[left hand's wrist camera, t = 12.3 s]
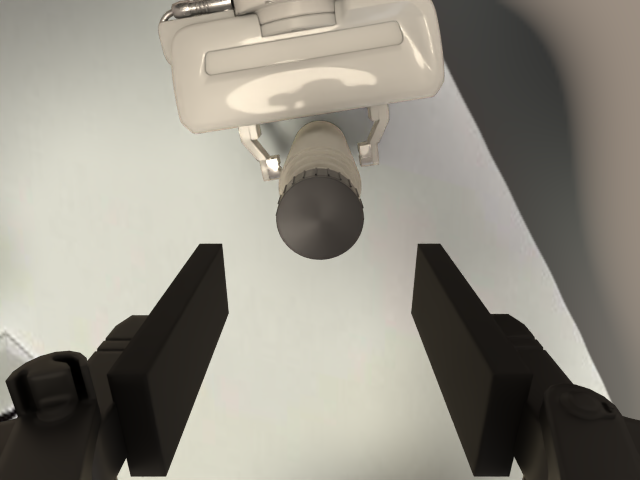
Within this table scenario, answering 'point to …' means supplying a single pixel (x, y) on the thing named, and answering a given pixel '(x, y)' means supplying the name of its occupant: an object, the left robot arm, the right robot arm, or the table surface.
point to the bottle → (319, 154)
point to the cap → (320, 214)
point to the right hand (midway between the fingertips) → (321, 171)
